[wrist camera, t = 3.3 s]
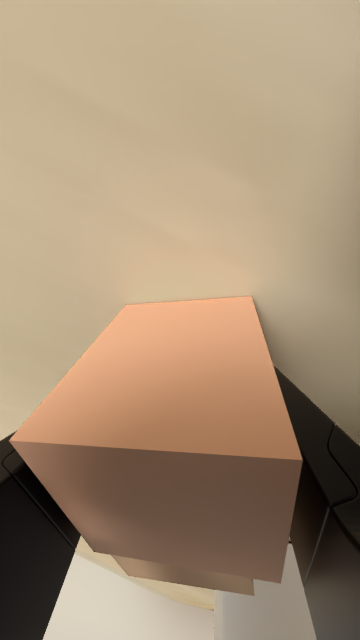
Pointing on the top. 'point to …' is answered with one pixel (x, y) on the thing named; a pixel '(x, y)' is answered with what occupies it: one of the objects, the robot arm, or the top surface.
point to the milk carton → (266, 609)
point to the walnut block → (185, 575)
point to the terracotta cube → (173, 441)
